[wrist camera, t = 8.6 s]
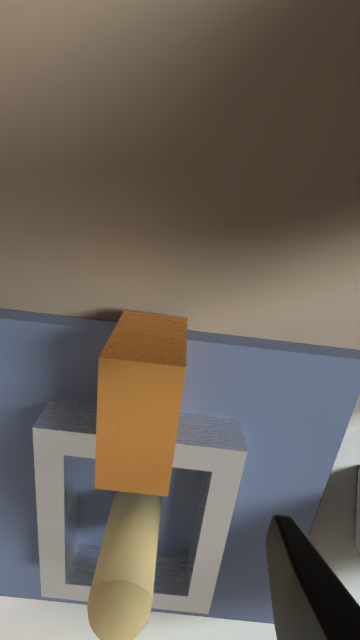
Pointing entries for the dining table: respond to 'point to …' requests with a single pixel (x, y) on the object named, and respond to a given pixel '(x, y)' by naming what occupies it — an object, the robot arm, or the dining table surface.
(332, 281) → the dining table surface
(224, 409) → the keeper
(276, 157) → the dining table surface
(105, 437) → the grey frame with tab
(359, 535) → the coffee box
